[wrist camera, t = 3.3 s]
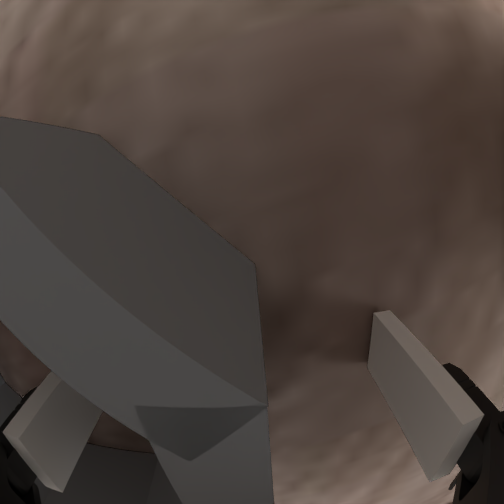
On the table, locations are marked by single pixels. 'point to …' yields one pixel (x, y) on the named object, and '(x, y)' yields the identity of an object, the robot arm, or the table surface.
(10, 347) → the table surface
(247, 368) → the grey octagonal ring
